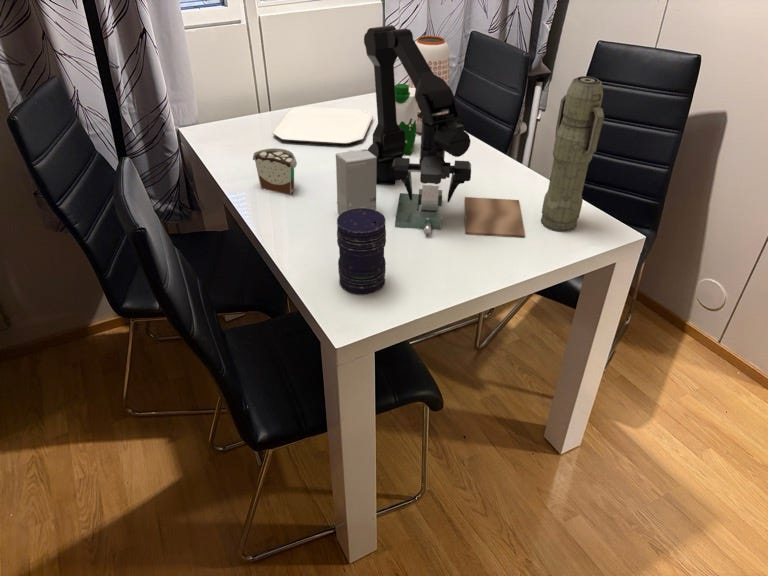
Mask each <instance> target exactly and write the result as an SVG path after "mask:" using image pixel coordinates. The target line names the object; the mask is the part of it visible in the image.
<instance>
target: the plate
mask: <svg viewBox="0 0 768 576" xmlns="http://www.w3.org/2000/svg"><path fill="white" fill-rule="evenodd" d="M373 117H374V116H373V114H372V113H369V112H368V111H365V110H363V109H353V108H339V107H338V108H335V107H322V106H321V107H320V106H318V107H317V106H302V107H297V108H293V109H289V111H288V112H287V113H286V115H285V116H284V117H283V118H282V120H280V122H279V123H278V125H277V126H276V128H275V129H274V131H273V132H272V135H274V136H276V137H277V138H278V139H279V140H281V141H287V142H291V141H294V142H293V143H306V142H310V144H321V143H326V145H337V144H342V145H344V144H345V145H349V144H353V143H356V142H359V141H363V140H364V138H365V136H366V134H367V131H368V130H369V127H370V124H371V123H372V120H373ZM342 145H341V146H342Z"/></svg>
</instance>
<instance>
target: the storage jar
mask: <svg viewBox="0 0 768 576" xmlns="http://www.w3.org/2000/svg"><path fill="white" fill-rule="evenodd" d="M386 223H387V222H386V216H385V215H384V214H383V213H382V212H380V211H378V210H377V209H376V210H373V209H367V208H356V209H351V210H347V211H345V212H343V213H341V214H339V215H338V216H337V218H336V225H337V227H336V235H337V236H336V238H337V239H336V241H337V246H338V248H339V252H338V253H339V257H338V262H337V263H338V264H337V265H338V267H337V268H338V277H339V286H340V287H341V289H342V290H343V291H345V292H347V293H348V294H352V295H358V296H366V295H367V296H368V295H372V294H375V293H377V292H379V291H381V289H383V288H384V286H385V283H386V282H385V281H386V280H385V279H386V278H385V277H386V268H387V267H386V265H387V263H386V257H385V247H386V243H387V229H386V227H387V226H386Z"/></svg>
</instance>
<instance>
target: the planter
mask: <svg viewBox="0 0 768 576" xmlns="http://www.w3.org/2000/svg"><path fill="white" fill-rule="evenodd" d="M414 41H415V43H416V45H417V47H418V48H419V50H420V52H421V53H422V55H423V57H424V58H425V60H426V62H427V64H428V65H429V67H430V69H431V70H432V72H433V73H434V74H435V75H436V76H438V77H440V78H441V79H443V80H444V81H445V82H446V83H447V85H448V86H449V87H450V78H451V77H450V74H451V73H450V71H451V70H450V69H451V67H450V65H451V63H450V62H451V61H450V46H449V44H448V42H446V39H445V38H443V37H442V36H436V35H424V36H420V37H418V38H417V39H416V40H414ZM407 81H408V82H407V85H408V86H409V87H411V88H415V86H414V84H413V82H412V80H411V79H410V77H409V76H408V80H407ZM420 112H421V111H420V109H419V107H418V104H417V115H418V114H419V113H420ZM446 113H449V111H445V112H441V113H436V114H438V115H441V114H446ZM421 131H422V119H420V118H419V117H418V116H417V130H416V134H419V135H421Z"/></svg>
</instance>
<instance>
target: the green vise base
mask: <svg viewBox="0 0 768 576" xmlns="http://www.w3.org/2000/svg"><path fill="white" fill-rule="evenodd" d="M422 189H423V188H418V193H412V201H410V198H409V195H408V192H407V193H403V192H399V195H398V200H397V201H398V202H397V208H396V213H395V220H394V227H395V228H404V229H405V228H408V229H409V228H410V229H420V230H421V229H423V230H424V231H423V233H424V235H427V236H429V235H431V233H432V230H439V231H441V225H442V212H438V211H437V212H421V210H420V211H419V209H418V208H419V205H420V206H421V199H422ZM442 201H443V189H439V192H438V207H442V205H443V204H442Z"/></svg>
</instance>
